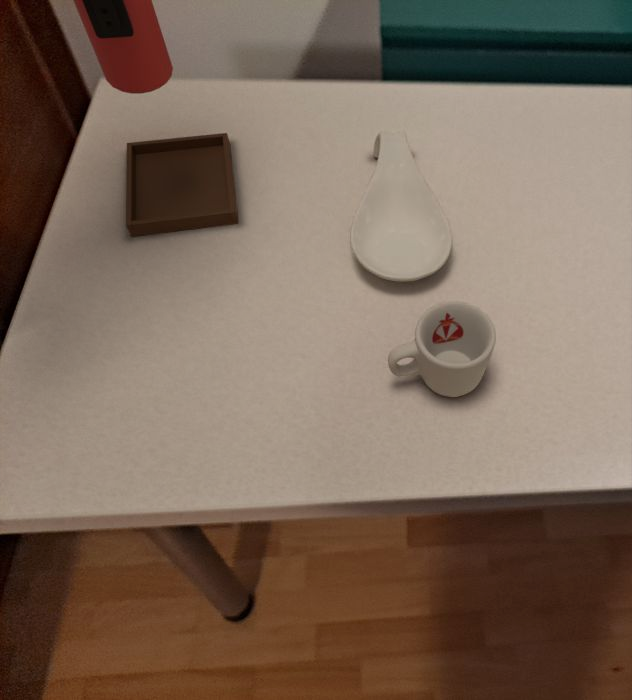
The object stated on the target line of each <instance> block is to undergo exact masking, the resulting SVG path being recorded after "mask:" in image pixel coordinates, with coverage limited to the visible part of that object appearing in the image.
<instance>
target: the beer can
mask: <svg viewBox="0 0 632 700" xmlns="http://www.w3.org/2000/svg"><path fill="white" fill-rule="evenodd" d="M72 1H73V3H74V6H75V8H76V11H77V13H78V15H79V18H80V20H81V22H82V25H83V27H84V30H85V32H86V34H87V37H88V39H89V42H90V44H91V47H92V49H93V51H94V54H95V56H96V59H97V61H98V64H99V66H100V69H101V71H102V73H103V75H104V78H105V80H106V82H107V83H108V84H109V85H110V86H111V87H112V88H114V89H115V90H118V91H120V92H122V93H125V94H134V95H136V94H148V93H152V92H154V91H156V90H159V89H161V88H162V87H163V86H165V85H166V84H167V83H168V82H169V80H170V79H171V78H172V76H173V70H174V66H173V63H172V60H171V57H170V53H169V51H168V48H167V45H166V41H165V38H164V36H163V32H162V28H161V25H160V23H159V19H158V15H157V12H156V9H155V7H154V3H153V0H123V1H124V4H125V6H126V9H127V12H128V15H129V18H130V21H131V23H132V26H133V29H134V34H133V36H131V37H117V38H103V39H102V38H98V37H97V36H96V34H95V31H94V29H93V26H92V24H91V21H90V19H89V16H88V14H87V11H86V9H85V6H84V4H83V1H82V0H72Z"/></svg>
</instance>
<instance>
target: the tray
mask: <svg viewBox="0 0 632 700" xmlns="http://www.w3.org/2000/svg"><path fill="white" fill-rule="evenodd" d="M233 167H234V166H233V160H232V149H231V143H230V139H229V135H228V133H227V132H221V133H220V132H219V133H212V134H201V135H193V136H191V135H190V136H181V137H171V138H163V139H162V138H161V139H152V140H143V141H132V142H126V169H125V170H126V174H125V175H126V179H125V181H126V184H125V191H126V192H125V197H126V198H125V202H126V203H125V226H126V228H127V230H128V232H129V235H130V236H131V238H133V237H140V236H148V235H149V236H151V235H158V234H164V233H173V232H180V231H189V230H196V229H204V228H213V227H221V226H227V225H236V224H237V225H238V224H239V215H238V206H237V197H236V188H235V177H234V169H233Z"/></svg>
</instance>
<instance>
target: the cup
mask: <svg viewBox="0 0 632 700" xmlns="http://www.w3.org/2000/svg"><path fill="white" fill-rule="evenodd" d="M496 342H497V332H496V328H495V325H494V323H493V321H492V319H491V318H490V317H489V316H488V314H487V313H486V312H485V311H483V310H482V309H481V308H480V307H477V306H476V305H474V304H471V303H468V302H464V301H458V300H450V301H444V302H441V303H440V302H439V303H437V304H434V305H433V306H431V307H429V308H428V309H427V310H426V311H425V312H423V313H422V315H420V318H419V319H418V321H417V323H416V326H415V331H414V339H413V340H412V341H410V342H406V343H401V344H399V345H397V346H396V347H394V348H392V349H391V350H390V351H389V353H388V355H387V366H388V368H389V371H390V372H391V374H392V375H394V376H395V377H401V378H405V377H411V376H416V375H417V376H418V375H420V376H421V378H422V379H423V381H424V383H425V384H426V386H427V387H428V388H429V389H430V390H431V391H433V392H434V393H436V394H437V395H440V396H444V397H448V398H457V397H461V396H462V397H463V396H465V395H467V394H469V393H471V392H472V391H473V390H474V389H475V388H476V387H477V386H478V385H479V384H480V382H481V381H482V378H483V377H484V374H485V372H486V369H487V367H488V364H489V362H490V359H491V357H492V354H493V352H494V350H495V349H494V348H495V346H496ZM409 358H411V359H412V360H411V361H410V362H408V363H404V364H398V362H400V361H401V360H403V359H404V360H405V359H409Z"/></svg>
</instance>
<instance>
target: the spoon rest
mask: <svg viewBox="0 0 632 700" xmlns="http://www.w3.org/2000/svg"><path fill="white" fill-rule="evenodd" d="M372 153H373V156H374V157H375V158H377V162H376V165H375V168H374V171H373V173H372V175H371V178H370V179H369V182H368V184H367V186H366V188H365V190H364V191H363V194H362V196H361V199H360V201H359V203H358V206H357V208H356V210H355V213H354V215H353V218H352V222H351V225H350V231H349V244H350V248H351V251H352V254H353V255H354V257H355V259H356V260H357V261H358V263H359V264H360V265H361V266H362V267H363V268H364V269H366V271H368V272H369V273H371V274H372V275H374V276H376V277H379V278H381V279H384V280H387V281H393V282H414V281H418V280H421V279H422V280H423V279H424V278H428V277H429V276H431V275H434V274H435V273H436V272H438V271H439V270H440V269H441V268H442V267H443V266H444V265H445V264H446V262H447V261H448V259H449V257H450V255H451V253H452V252H451V251H452V248H453V231H452V228H451V224H450V222H449V220H448V218H447V215H446V213H445V211H444V209H443V207H442V206H441V204H440V203H439V201H438V200H439V199H438V198H437V197H436V195H435V193H434V192H433V191H432V189H431V187H430V186H429V184H428V182H427V181H426V179H425V177H424V176H423V174H422V172H421V170H420V168H419V166H418V164H417V162H416V160H415V158H414V156H413V153H412V150H411V147H410V143H409V140H408V136H407V133H406V132H405V131H399V132H384V131H379V132H378V134H377V136H376V137H375V140H374V145H373V151H372Z"/></svg>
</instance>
